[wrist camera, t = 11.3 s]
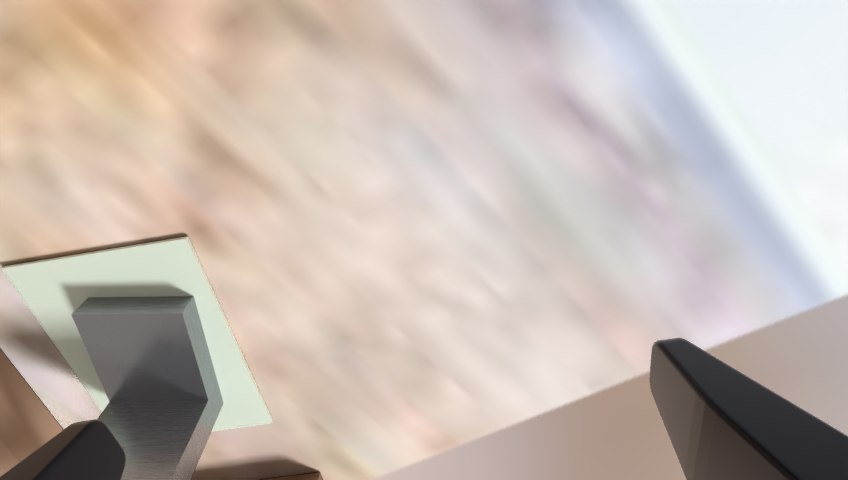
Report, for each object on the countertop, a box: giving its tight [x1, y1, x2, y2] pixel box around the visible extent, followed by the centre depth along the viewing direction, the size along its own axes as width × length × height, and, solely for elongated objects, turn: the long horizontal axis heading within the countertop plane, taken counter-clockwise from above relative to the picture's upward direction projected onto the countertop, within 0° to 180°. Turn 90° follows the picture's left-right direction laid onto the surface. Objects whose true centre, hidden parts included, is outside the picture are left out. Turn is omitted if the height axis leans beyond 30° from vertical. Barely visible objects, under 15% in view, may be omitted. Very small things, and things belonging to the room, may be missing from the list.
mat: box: [1, 236, 273, 432], centre depth 23 cm, size 11×8×1 cm
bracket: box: [71, 296, 223, 480], centre depth 20 cm, size 6×4×6 cm
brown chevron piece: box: [0, 349, 323, 480], centre depth 23 cm, size 20×14×2 cm
